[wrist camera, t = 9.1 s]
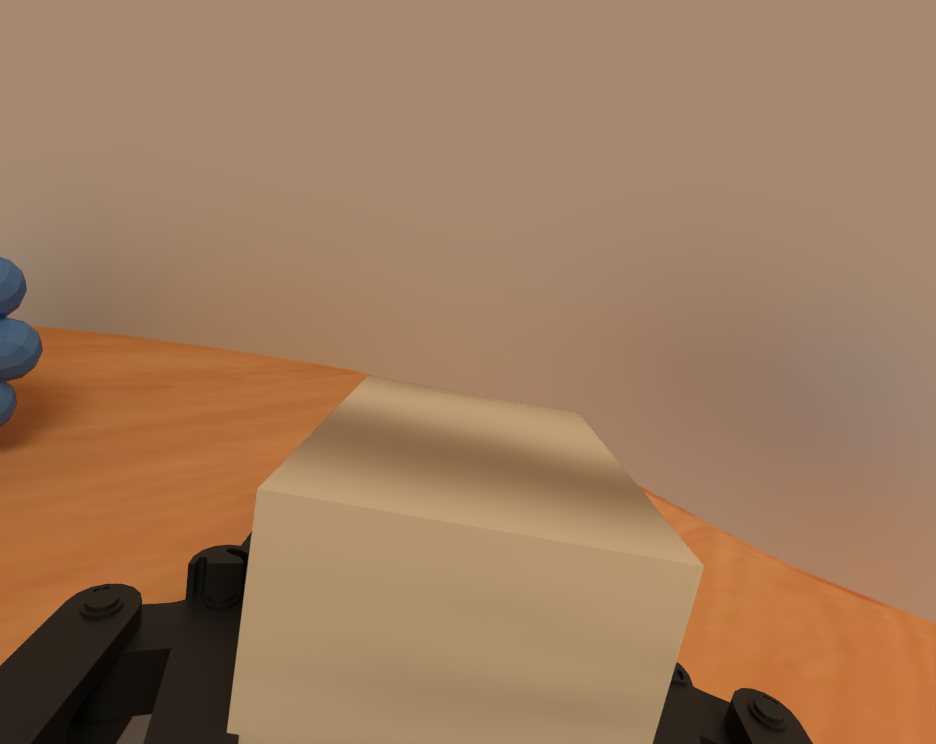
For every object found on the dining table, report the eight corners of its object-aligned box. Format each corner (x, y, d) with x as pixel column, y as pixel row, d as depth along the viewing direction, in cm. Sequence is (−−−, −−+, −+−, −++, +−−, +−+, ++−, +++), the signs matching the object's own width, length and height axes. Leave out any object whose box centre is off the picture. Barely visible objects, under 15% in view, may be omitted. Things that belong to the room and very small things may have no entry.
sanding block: (319, 685, 16) (368, 375, 15) (508, 716, 17) (578, 413, 15) (185, 1060, 9) (257, 489, 7) (546, 1108, 9) (704, 567, 7)
